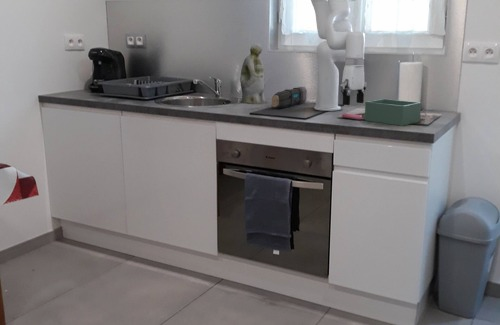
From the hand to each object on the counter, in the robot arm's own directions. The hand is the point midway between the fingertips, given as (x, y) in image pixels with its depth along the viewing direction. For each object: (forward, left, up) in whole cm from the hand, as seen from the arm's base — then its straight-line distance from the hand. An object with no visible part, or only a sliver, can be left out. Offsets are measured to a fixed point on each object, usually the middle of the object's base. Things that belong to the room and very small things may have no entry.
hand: (353, 103), depth 220 cm
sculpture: (-69, +7, -7) cm, 69 cm away
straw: (-1, 0, -7) cm, 6 cm away
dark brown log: (-45, +9, -7) cm, 46 cm away
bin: (+14, +7, -7) cm, 17 cm away
